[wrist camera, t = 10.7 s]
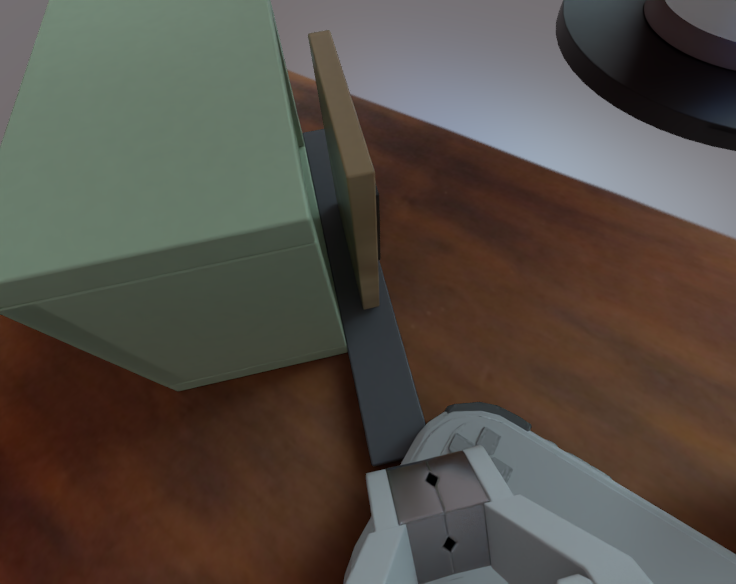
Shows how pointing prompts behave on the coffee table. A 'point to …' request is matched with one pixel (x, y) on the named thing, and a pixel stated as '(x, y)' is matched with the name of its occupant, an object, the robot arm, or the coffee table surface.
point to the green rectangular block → (186, 208)
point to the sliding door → (349, 167)
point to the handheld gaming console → (569, 498)
